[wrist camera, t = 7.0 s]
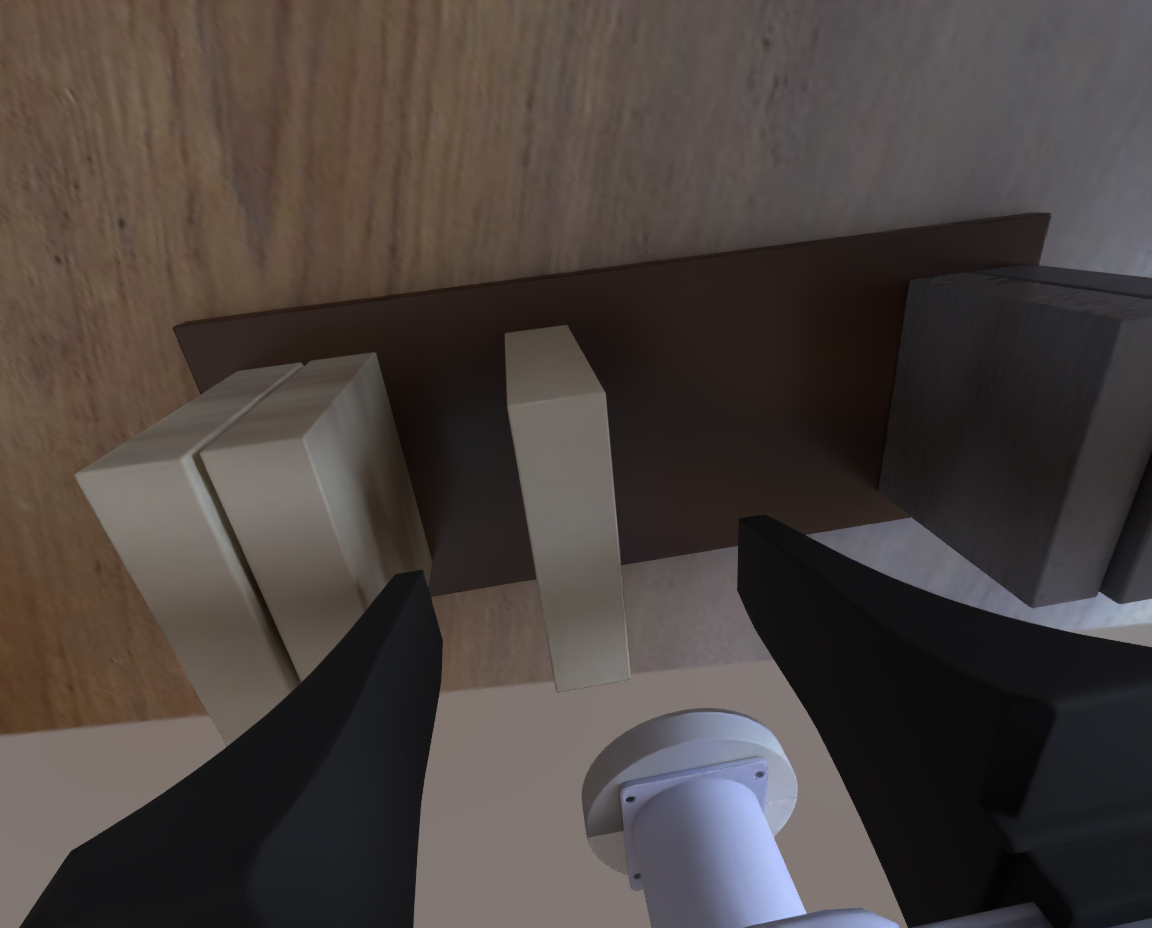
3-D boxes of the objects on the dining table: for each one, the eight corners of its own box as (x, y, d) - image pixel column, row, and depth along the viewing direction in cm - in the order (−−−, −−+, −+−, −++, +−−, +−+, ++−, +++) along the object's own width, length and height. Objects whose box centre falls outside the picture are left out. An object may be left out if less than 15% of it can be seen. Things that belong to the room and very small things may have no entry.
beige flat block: (591, 537, 21) (631, 680, 15) (539, 545, 21) (556, 693, 14) (567, 324, 17) (605, 391, 11) (504, 332, 17) (507, 405, 11)
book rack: (966, 497, 23) (1182, 632, 16) (301, 606, 22) (198, 815, 14) (1031, 212, 19) (1382, 216, 11) (184, 321, 17) (-64, 412, 9)
